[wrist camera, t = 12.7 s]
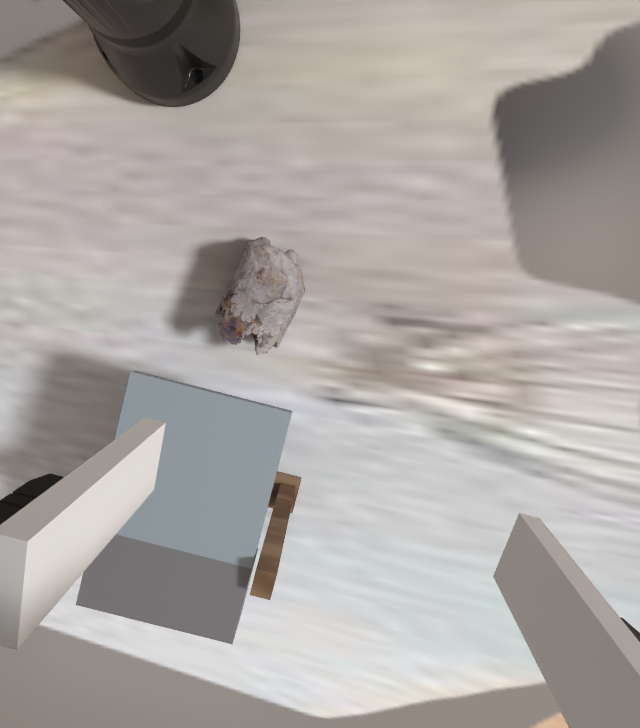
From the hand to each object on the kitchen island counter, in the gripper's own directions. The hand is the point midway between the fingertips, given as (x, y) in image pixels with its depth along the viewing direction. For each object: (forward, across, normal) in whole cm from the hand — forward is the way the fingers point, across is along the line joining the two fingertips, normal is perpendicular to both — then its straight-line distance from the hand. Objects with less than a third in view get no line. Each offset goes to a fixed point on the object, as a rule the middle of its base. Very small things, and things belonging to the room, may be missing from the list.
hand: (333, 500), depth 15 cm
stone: (+30, -10, +3) cm, 31 cm away
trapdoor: (+26, -11, -19) cm, 34 cm away
